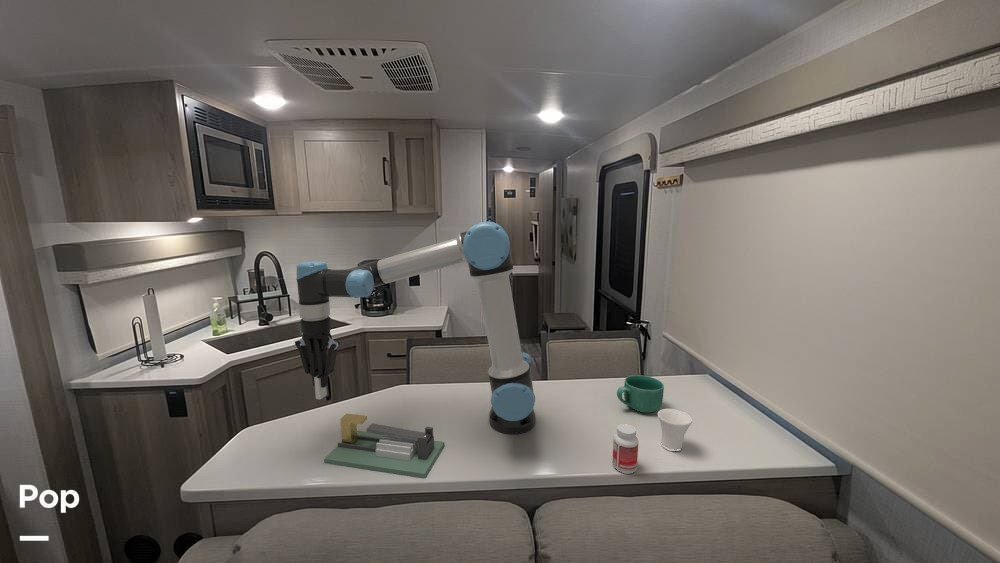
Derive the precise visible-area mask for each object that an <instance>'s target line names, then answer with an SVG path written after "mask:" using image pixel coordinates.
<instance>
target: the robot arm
mask: <svg viewBox="0 0 1000 563" xmlns="http://www.w3.org/2000/svg"><path fill="white" fill-rule="evenodd" d="M462 263H466V264H467V265H468V269H469V270H468V271H469V275H470V277H471V278H472V279H473V280H475V281H476V282H477V286H478V287H477V288H478V293H479V298H480V304H481V309H482V315H483V321H484V325H485V327H484V328H485V332H486V337H487V343H488V349H489V355H490V360H491V366H490V367H489V369H488V370H487V374H488V380H489V385H490V390H491V397H490V403H491V408H490V411H489V414H488V421H489V422H488V423H489V425H490V427H491V428H493V430H495V431H497V432H500V433H503V434H507V435H518V434H523V433H527V432H529V431H531V430H532V429H533V428H534V427H535V426H536V423H537V421H536V419H537V418H536V413H535V410H534V407H535V403H536V395H535V393H534V386H533V378H532V358H531V355H530V354H529V353H527V352H522V347H521V343H520V342H521V341H520V336H519V328H518V323H517V317H516V312H515V306H514V305H515V304H514V299H513V293H512V286H511V282H510V280H511V279H510V275H511V273H512V272H513V271H514V264H513V259H512V252H511V242H510V237H509V234H508V232H507V231H506V229H505V228H504V227H503V226H502V225H500V224H499V223H497V222H493V221H490V220H489V221H487V220H486V221H482V222H481V221H480V222H478V223H475V224H473V226H471V227H469V229H468V230H465V231H463V232H460V233H459V234H458V236H457V237H454V238H452V239H448V240H444V241H441V242H437V243H434V244H431V245H427V246H422V247H420V248H417V249H414V250H409V251H406V252H403V253H399V254H395V255H393V256H390V257H385V258H382V259H379V260H375V261H372V262H367V263H364V264H361V265H358V266H354V267H352V268H347V269H331V268H328V265H327V262H325V261H320V260H317V261H316V260H314V261H313V260H311V261H309V260H308V261H301V262H299V263H297V266H296V279H295V280H296V284H297V292H298V293H297V294H298V308H299V310H298V312H299V318H300V320H299V322H300V331H301V333H302V335H301V338H300V339H298V340H295V341H294V345H295V347H296V348H297V349H298V354H299V356H300V359H301V363H302V366H303V369H304V373H305V375H310V376H311V378H312V386H313V387H314V391H315V392H314V394H315V399H316V400H322V399H323V398H326V396H327V395H328V394H327V392H328V391H327V387H328V385H329V378H328V376H329V375H331V374H333V373H334V372H335V367H336V365H335V364H336V360H337V355H338V354H337V353H338V349H339V347H340V345H341V342H340V341H335V340H334V339H333V337H332V334H331V329H332V323H331V322H332V321H331V317H330V315H331V309H330V308H331V307H330V298H355V299H359V298H367V297H369V296H371V295H372V292H373V291H374V288H377V287H380V286H383V285H386V284H390V283H393V282H397V281H400V280H404V279H407V278H412V277H415V276H419V275H422V274H423V275H424V274H426V273H429V272H433V271H436V270H440V269H443V268H447V267H451V266H454V265H458V264H462Z"/></svg>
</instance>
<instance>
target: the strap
mask: <svg viewBox="0 0 1000 563" xmlns="http://www.w3.org/2000/svg"><path fill="white" fill-rule="evenodd" d="M366 432H369V433H375V434H380V435H386V436H391V437H397V438H402V439H408V440H413V441H418V437H419V436H424V437H426V443H427V441H428V440H429V438H430V437H431V433H430V432H426V433H425V431H424V432H422V431H418V430H417V431H416V430H411V429H405V428H400V427H394V426H388V425H383V424H378V423H370V425H369V426H368V427H367V428H366Z"/></svg>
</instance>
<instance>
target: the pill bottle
mask: <svg viewBox="0 0 1000 563" xmlns="http://www.w3.org/2000/svg"><path fill="white" fill-rule="evenodd" d="M636 435H637V429H636V428H635V426H633V425H630V424H626V423H621V424H618V425H617V427H616V432H615V433H614V435H613V442H612V460H611V461H612V463H613V464H612V467H613V468H614V469H615V468H616V469H617V470H616V469H615V470H616V471H618V472H619V471H620V472H619V473H621V472H622V474H625V475H628V474H629V475H630V474H633V472H634V473H635V472H636V471H637V469H638V457H639V456H638V454H639V453H638V452H639V439H638V437H637V436H636Z"/></svg>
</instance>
